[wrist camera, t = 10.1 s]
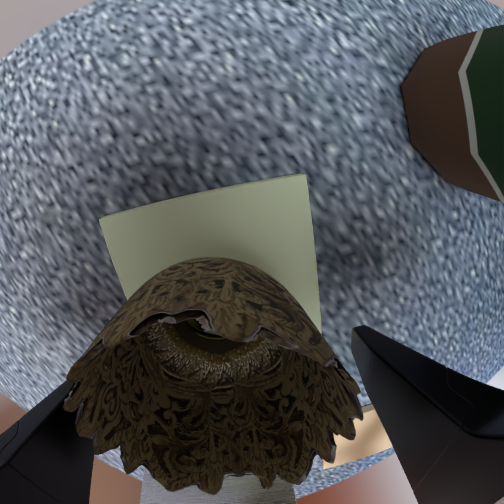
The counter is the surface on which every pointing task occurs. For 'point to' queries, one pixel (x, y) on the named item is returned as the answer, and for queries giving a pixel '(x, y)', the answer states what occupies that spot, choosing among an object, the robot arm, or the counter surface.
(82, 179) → the counter surface
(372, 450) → the oak mat
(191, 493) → the box
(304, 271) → the sage mat
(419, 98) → the beer bottle
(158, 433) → the brown ornate lampshade
